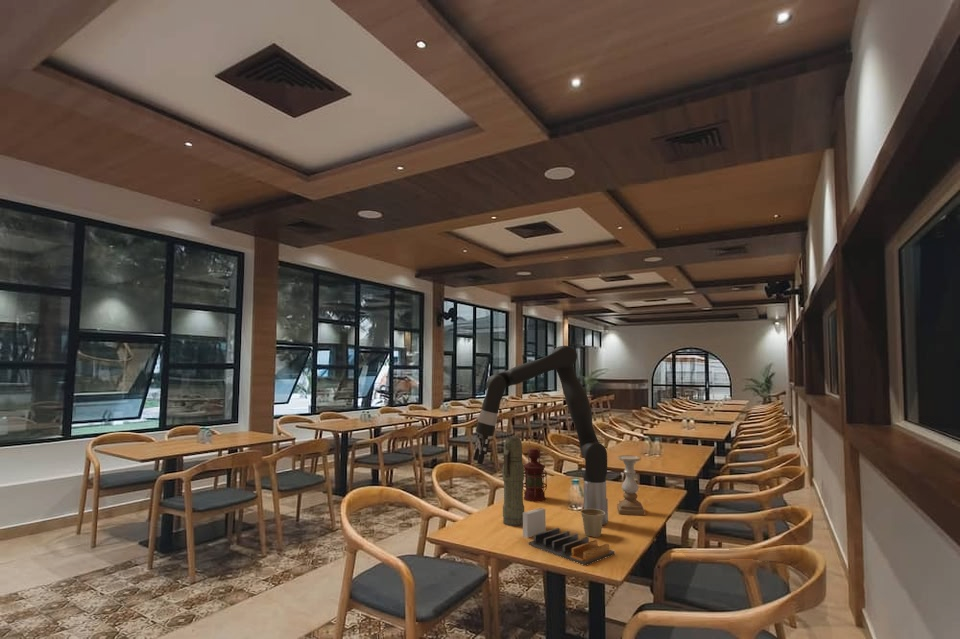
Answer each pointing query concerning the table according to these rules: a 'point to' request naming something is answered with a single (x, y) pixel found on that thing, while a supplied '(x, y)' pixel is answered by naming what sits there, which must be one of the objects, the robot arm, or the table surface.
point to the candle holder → (630, 489)
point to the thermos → (513, 482)
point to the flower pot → (592, 521)
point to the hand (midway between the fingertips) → (477, 462)
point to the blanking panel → (534, 522)
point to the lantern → (534, 477)
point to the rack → (571, 546)
